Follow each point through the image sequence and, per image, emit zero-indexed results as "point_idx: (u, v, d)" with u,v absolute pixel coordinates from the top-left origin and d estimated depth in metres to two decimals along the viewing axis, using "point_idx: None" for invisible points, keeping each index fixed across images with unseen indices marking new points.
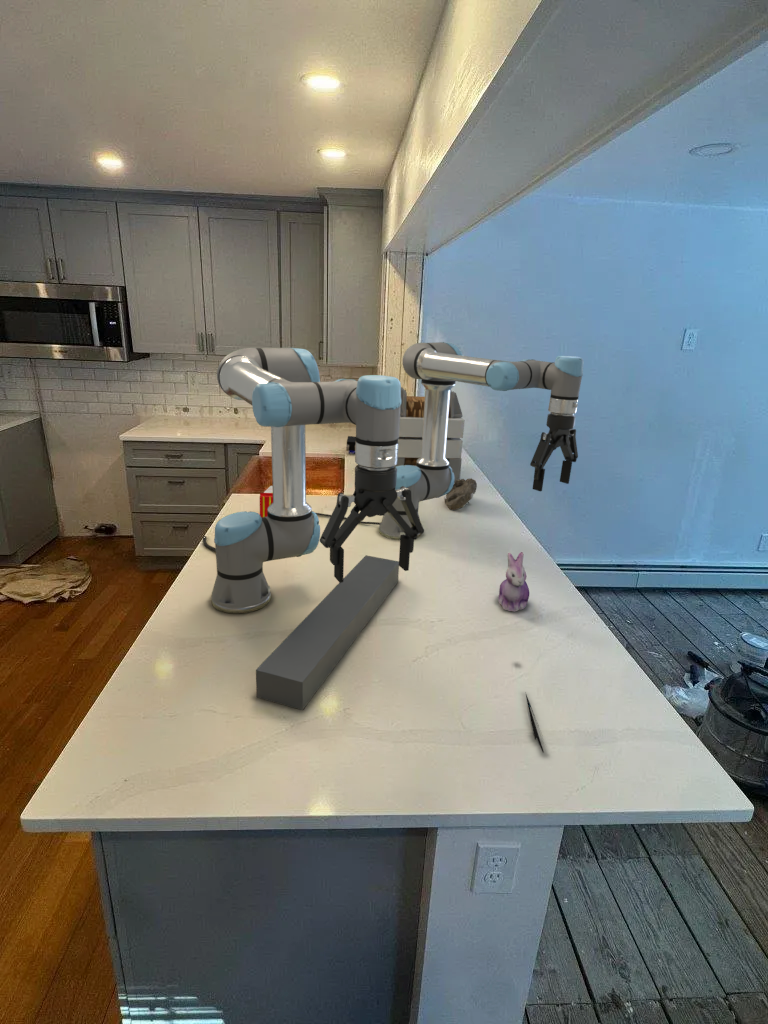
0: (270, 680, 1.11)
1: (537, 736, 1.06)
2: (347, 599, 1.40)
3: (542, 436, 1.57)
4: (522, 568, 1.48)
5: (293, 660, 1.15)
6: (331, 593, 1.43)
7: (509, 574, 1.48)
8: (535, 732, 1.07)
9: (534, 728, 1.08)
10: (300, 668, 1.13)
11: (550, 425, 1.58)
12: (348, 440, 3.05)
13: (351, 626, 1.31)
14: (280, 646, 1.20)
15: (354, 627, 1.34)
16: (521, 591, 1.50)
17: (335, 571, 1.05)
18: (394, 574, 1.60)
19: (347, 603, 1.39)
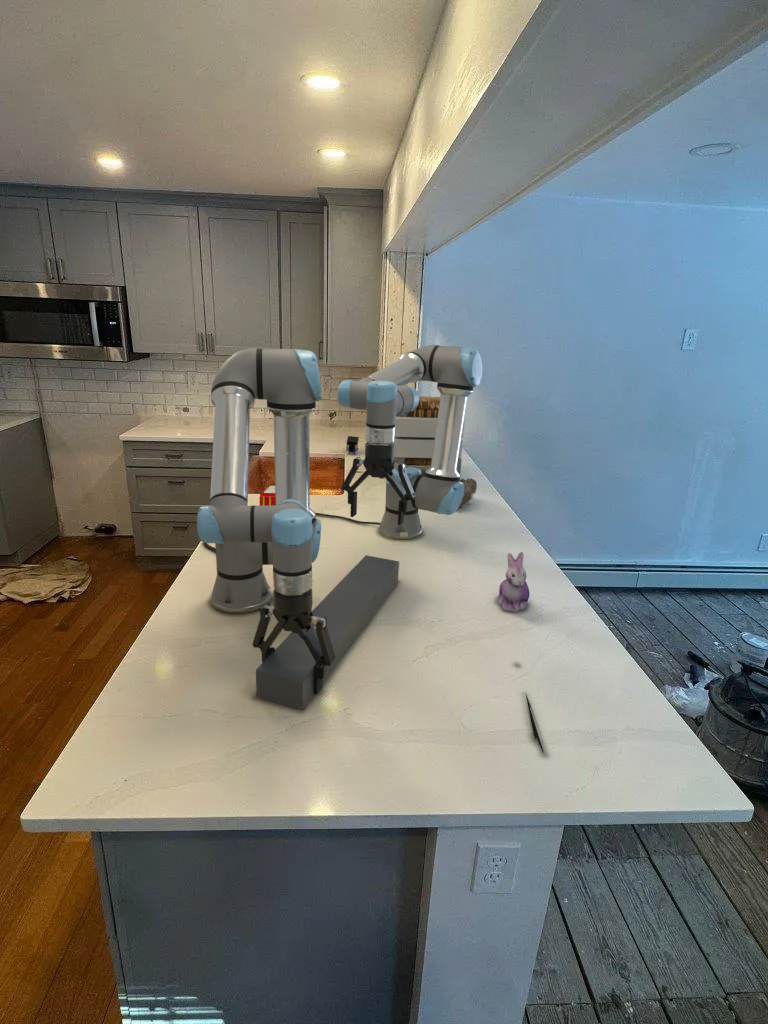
0: (270, 680, 1.11)
1: (537, 736, 1.06)
2: (347, 599, 1.40)
3: None
4: (522, 568, 1.48)
5: (293, 660, 1.15)
6: (331, 593, 1.43)
7: (509, 574, 1.48)
8: (535, 732, 1.07)
9: (534, 728, 1.08)
10: (300, 668, 1.13)
11: None
12: (348, 440, 3.05)
13: (351, 626, 1.31)
14: (280, 646, 1.20)
15: (354, 627, 1.34)
16: (521, 591, 1.50)
17: None
18: (394, 574, 1.60)
19: (347, 603, 1.39)
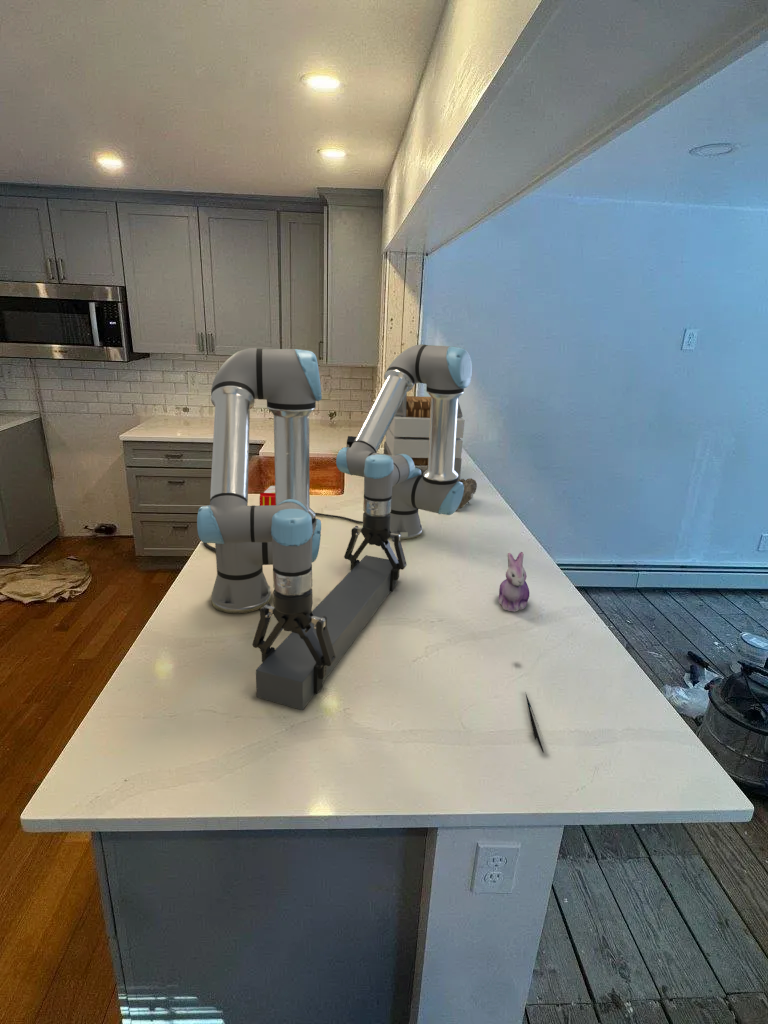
0: (270, 680, 1.11)
1: (537, 736, 1.06)
2: (347, 599, 1.40)
3: None
4: (522, 568, 1.48)
5: (293, 660, 1.15)
6: (331, 593, 1.43)
7: (509, 574, 1.48)
8: (535, 732, 1.07)
9: (534, 728, 1.08)
10: (300, 668, 1.13)
11: None
12: (348, 440, 3.05)
13: (351, 626, 1.31)
14: (280, 646, 1.20)
15: (354, 627, 1.34)
16: (521, 591, 1.50)
17: None
18: None
19: (347, 603, 1.39)
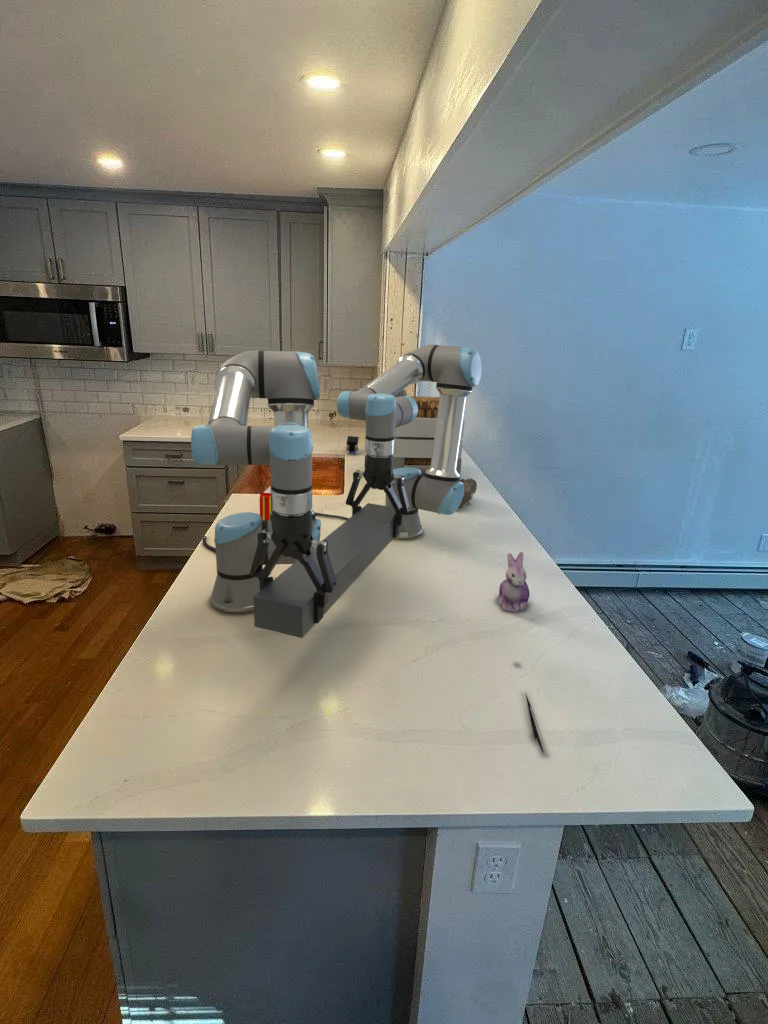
0: (268, 607, 1.06)
1: (537, 736, 1.06)
2: (349, 539, 1.35)
3: None
4: (522, 568, 1.48)
5: (292, 589, 1.10)
6: (332, 533, 1.38)
7: (509, 574, 1.48)
8: (535, 732, 1.07)
9: (534, 728, 1.08)
10: (300, 595, 1.08)
11: None
12: (348, 440, 3.05)
13: (353, 562, 1.26)
14: (279, 577, 1.15)
15: (356, 564, 1.28)
16: (521, 591, 1.50)
17: None
18: None
19: (349, 542, 1.33)
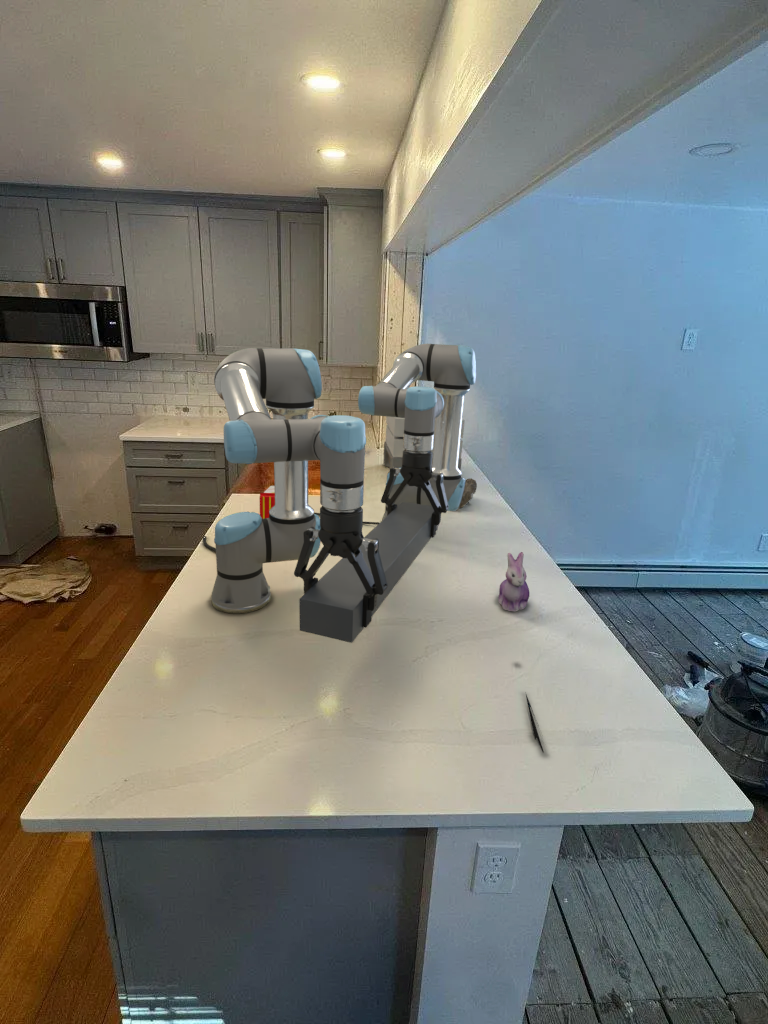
0: (315, 610, 1.00)
1: (537, 736, 1.06)
2: (389, 538, 1.29)
3: None
4: (522, 568, 1.48)
5: (339, 591, 1.04)
6: (371, 533, 1.31)
7: (509, 574, 1.48)
8: (535, 732, 1.07)
9: (534, 728, 1.08)
10: (348, 597, 1.02)
11: None
12: None
13: (397, 562, 1.20)
14: (323, 578, 1.08)
15: (399, 565, 1.22)
16: (521, 591, 1.50)
17: None
18: None
19: (390, 541, 1.27)
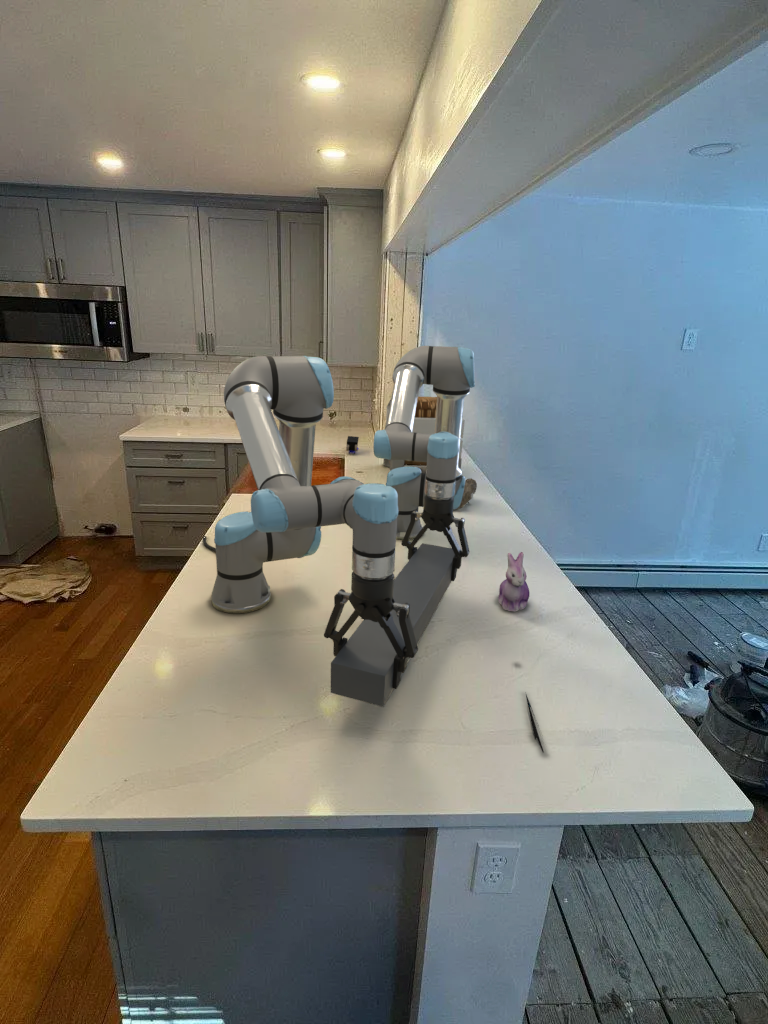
0: (347, 674, 1.01)
1: (537, 736, 1.06)
2: (413, 588, 1.30)
3: None
4: (522, 568, 1.48)
5: (370, 652, 1.05)
6: (395, 582, 1.32)
7: (509, 574, 1.48)
8: (535, 732, 1.07)
9: (534, 728, 1.08)
10: (379, 660, 1.03)
11: None
12: (348, 440, 3.05)
13: (423, 616, 1.21)
14: (352, 637, 1.09)
15: (425, 617, 1.23)
16: (521, 591, 1.50)
17: None
18: None
19: (414, 592, 1.28)
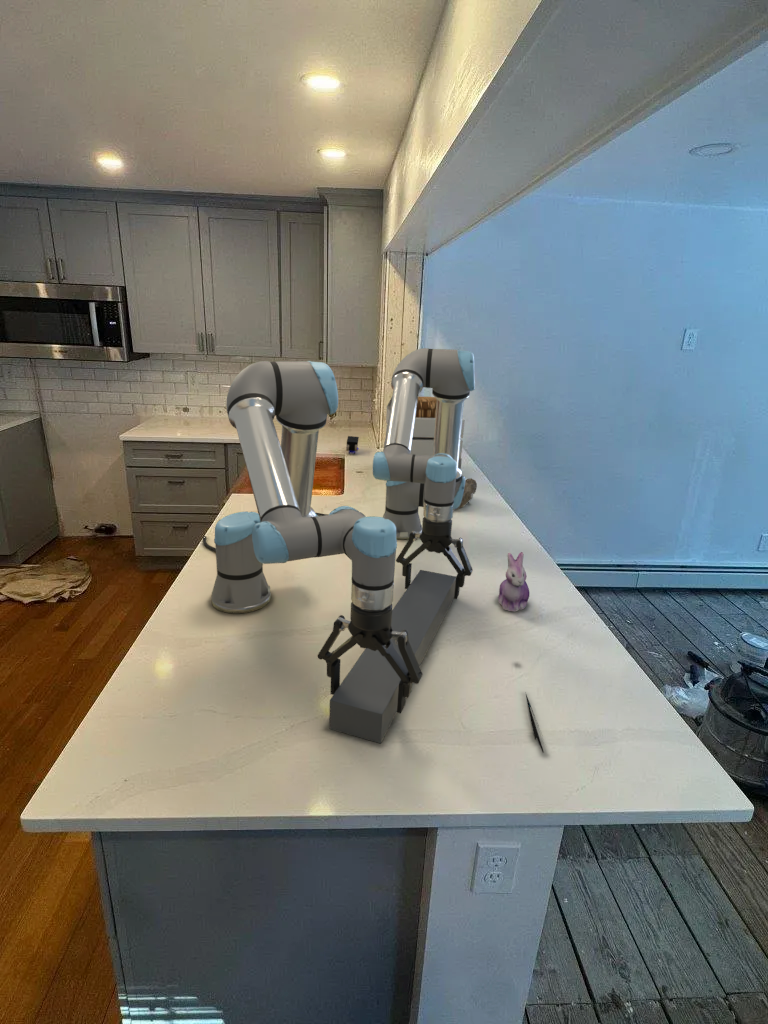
0: (345, 712, 1.04)
1: (537, 736, 1.06)
2: (411, 619, 1.33)
3: None
4: (522, 568, 1.48)
5: (367, 689, 1.08)
6: (393, 612, 1.35)
7: (509, 574, 1.48)
8: (535, 732, 1.07)
9: (534, 728, 1.08)
10: (377, 697, 1.05)
11: None
12: (348, 440, 3.05)
13: (420, 649, 1.24)
14: (351, 672, 1.12)
15: (422, 649, 1.26)
16: (521, 591, 1.50)
17: None
18: (452, 590, 1.53)
19: (411, 623, 1.31)
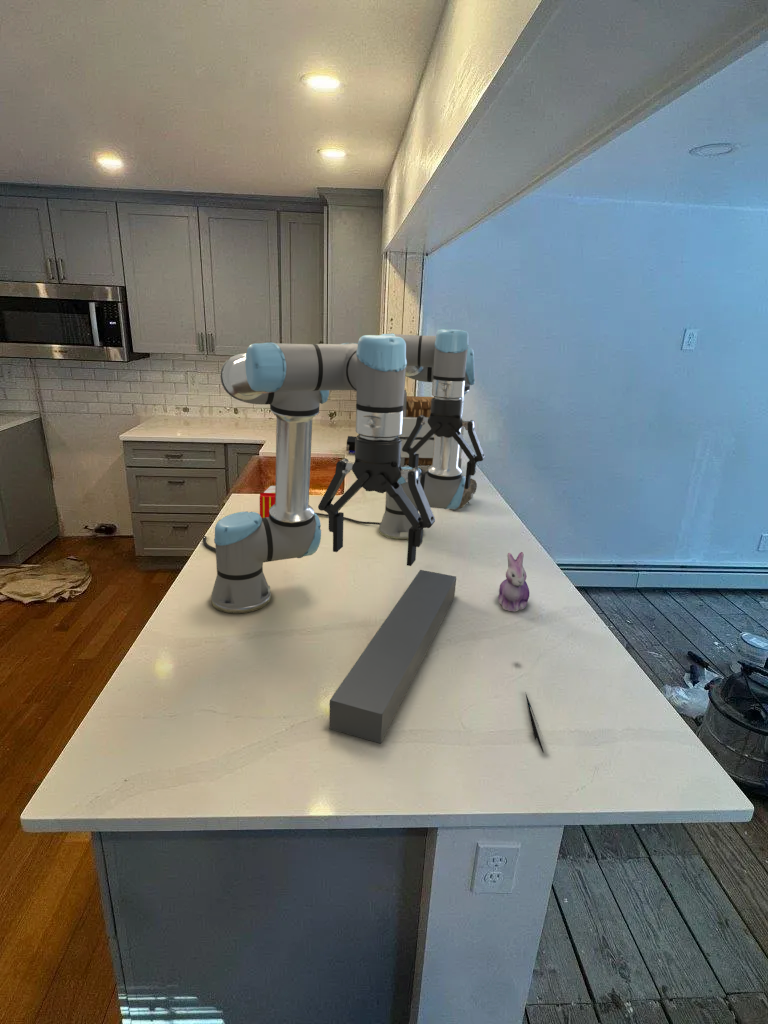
0: (345, 712, 1.04)
1: (537, 736, 1.06)
2: (411, 619, 1.33)
3: None
4: (522, 568, 1.48)
5: (367, 689, 1.08)
6: (393, 612, 1.35)
7: (509, 574, 1.48)
8: (535, 732, 1.07)
9: (534, 728, 1.08)
10: (377, 697, 1.05)
11: None
12: (348, 440, 3.05)
13: (420, 649, 1.24)
14: (351, 672, 1.12)
15: (422, 649, 1.26)
16: (521, 591, 1.50)
17: None
18: (452, 590, 1.53)
19: (411, 623, 1.31)
